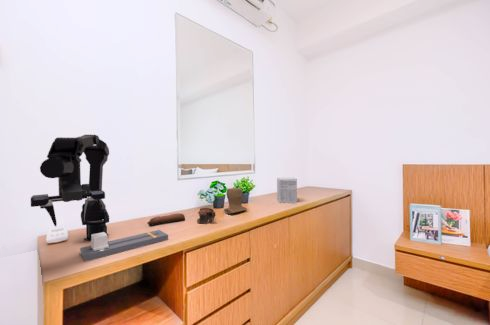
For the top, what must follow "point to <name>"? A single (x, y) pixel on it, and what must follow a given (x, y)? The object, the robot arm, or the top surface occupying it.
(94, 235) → the fader knob
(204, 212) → the pottery mug
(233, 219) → the top surface
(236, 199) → the brown rounded stand
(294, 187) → the supplement box
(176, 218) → the sunglasses case
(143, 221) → the top surface
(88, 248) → the fader track
